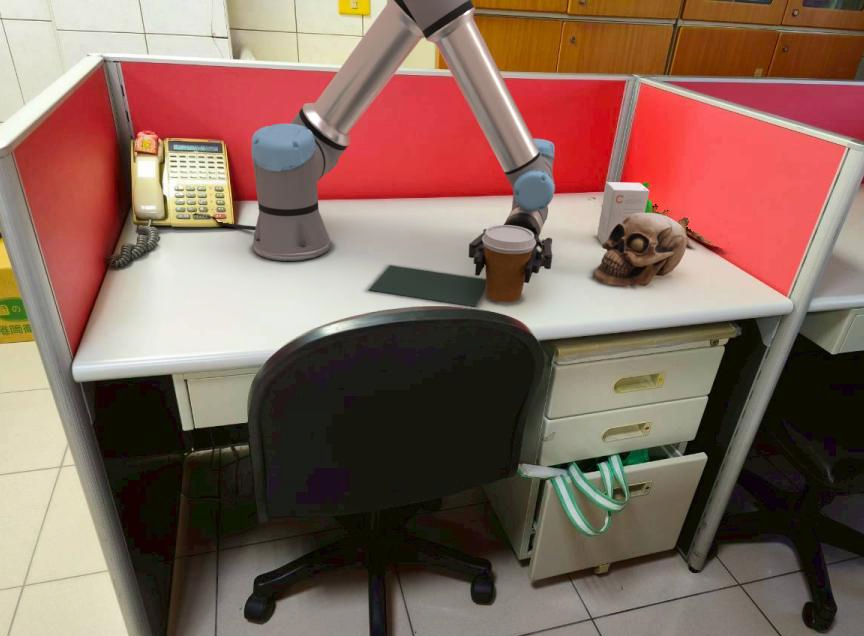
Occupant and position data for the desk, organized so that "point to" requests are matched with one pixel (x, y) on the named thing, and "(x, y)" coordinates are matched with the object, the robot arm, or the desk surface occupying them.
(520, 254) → the disposable coffee cup
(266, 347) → the desk surface
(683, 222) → the brown jagged long piece
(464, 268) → the desk surface
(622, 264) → the beige brown skull
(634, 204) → the small box
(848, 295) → the desk surface
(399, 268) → the desk mat
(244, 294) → the desk surface
